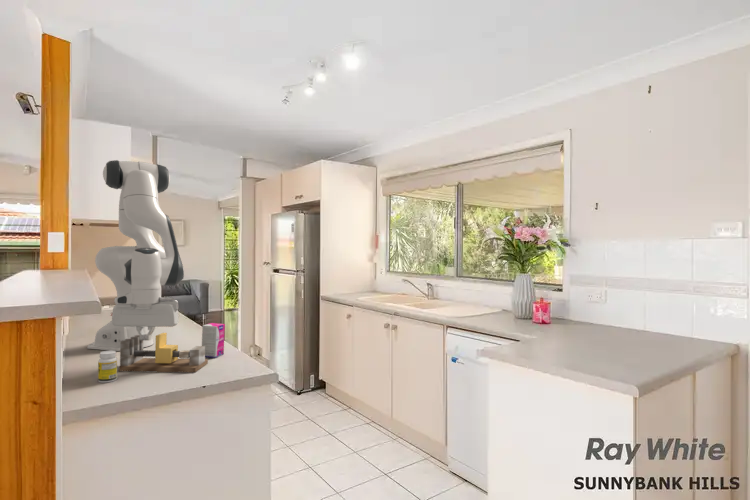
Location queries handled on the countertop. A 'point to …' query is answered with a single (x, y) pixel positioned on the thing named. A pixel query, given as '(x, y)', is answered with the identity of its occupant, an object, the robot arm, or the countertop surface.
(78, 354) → the countertop surface
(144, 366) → the wooden board with slider
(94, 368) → the countertop surface
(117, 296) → the robot arm
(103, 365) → the supplement bottle
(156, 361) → the yellow l-shaped block
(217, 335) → the supplement box
